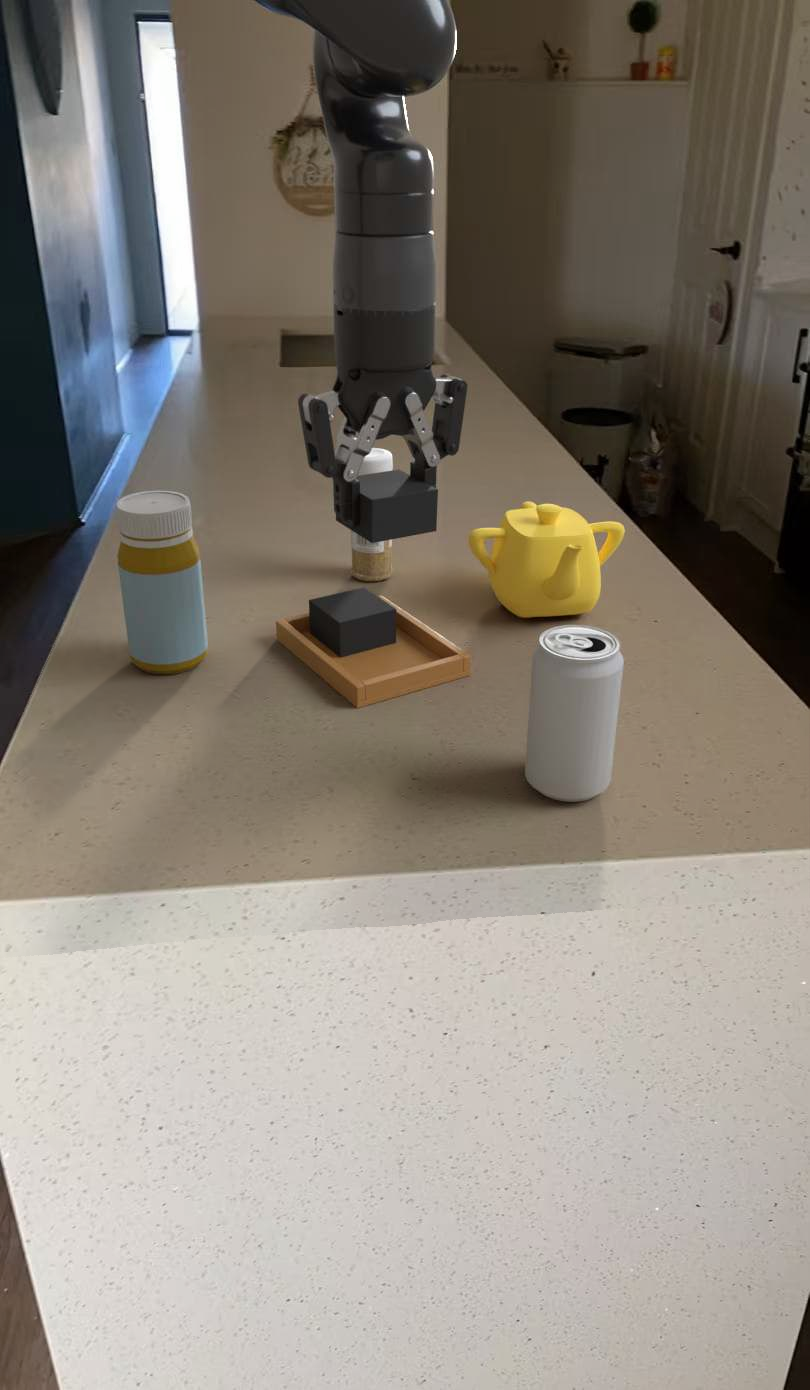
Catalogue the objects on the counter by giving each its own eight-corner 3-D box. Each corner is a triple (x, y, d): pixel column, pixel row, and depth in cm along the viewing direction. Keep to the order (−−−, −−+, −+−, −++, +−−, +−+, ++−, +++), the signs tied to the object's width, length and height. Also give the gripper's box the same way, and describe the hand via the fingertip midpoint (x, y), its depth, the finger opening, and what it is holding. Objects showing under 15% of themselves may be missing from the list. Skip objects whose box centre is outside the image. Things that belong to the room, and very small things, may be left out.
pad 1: (371, 543, 85) (372, 500, 83) (335, 520, 89) (335, 478, 88) (436, 531, 88) (438, 489, 86) (398, 509, 92) (399, 469, 90)
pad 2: (340, 657, 99) (339, 622, 98) (309, 633, 104) (308, 599, 102) (396, 643, 102) (396, 608, 100) (364, 620, 106) (364, 586, 105)
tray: (357, 708, 92) (356, 687, 91) (276, 639, 104) (275, 620, 103) (470, 675, 97) (471, 655, 96) (381, 613, 109) (381, 595, 108)
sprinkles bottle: (400, 571, 119) (400, 450, 112) (379, 586, 115) (378, 461, 109) (363, 564, 121) (362, 444, 114) (342, 577, 117) (339, 454, 111)
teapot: (635, 602, 112) (647, 506, 107) (571, 644, 103) (580, 541, 98) (523, 570, 119) (529, 478, 115) (454, 606, 111) (457, 509, 106)
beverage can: (600, 815, 79) (617, 667, 73) (514, 797, 80) (523, 651, 75) (616, 770, 84) (633, 629, 78) (535, 754, 86) (546, 615, 80)
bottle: (185, 682, 96) (168, 519, 89) (116, 669, 98) (94, 509, 91) (221, 649, 102) (209, 494, 95) (155, 638, 104) (138, 485, 96)
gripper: (438, 283, 86) (435, 489, 94) (273, 298, 79) (284, 518, 88) (494, 297, 80) (485, 514, 89) (321, 314, 74) (328, 547, 82)
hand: (385, 515), depth 88 cm, fingers closed on pad 1, 6 cm apart
